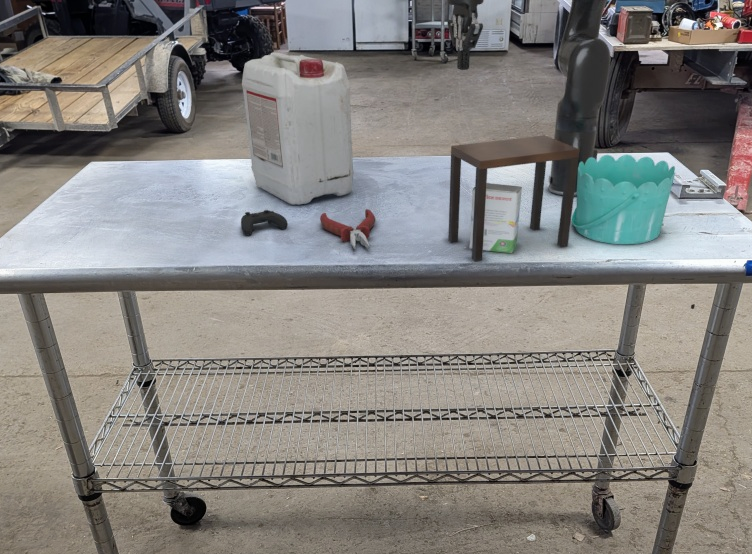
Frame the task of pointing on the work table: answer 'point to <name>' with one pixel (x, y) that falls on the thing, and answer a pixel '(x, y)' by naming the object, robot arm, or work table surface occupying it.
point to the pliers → (350, 229)
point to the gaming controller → (261, 220)
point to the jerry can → (299, 126)
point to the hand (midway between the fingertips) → (463, 69)
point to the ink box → (499, 217)
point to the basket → (622, 199)
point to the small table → (511, 155)
